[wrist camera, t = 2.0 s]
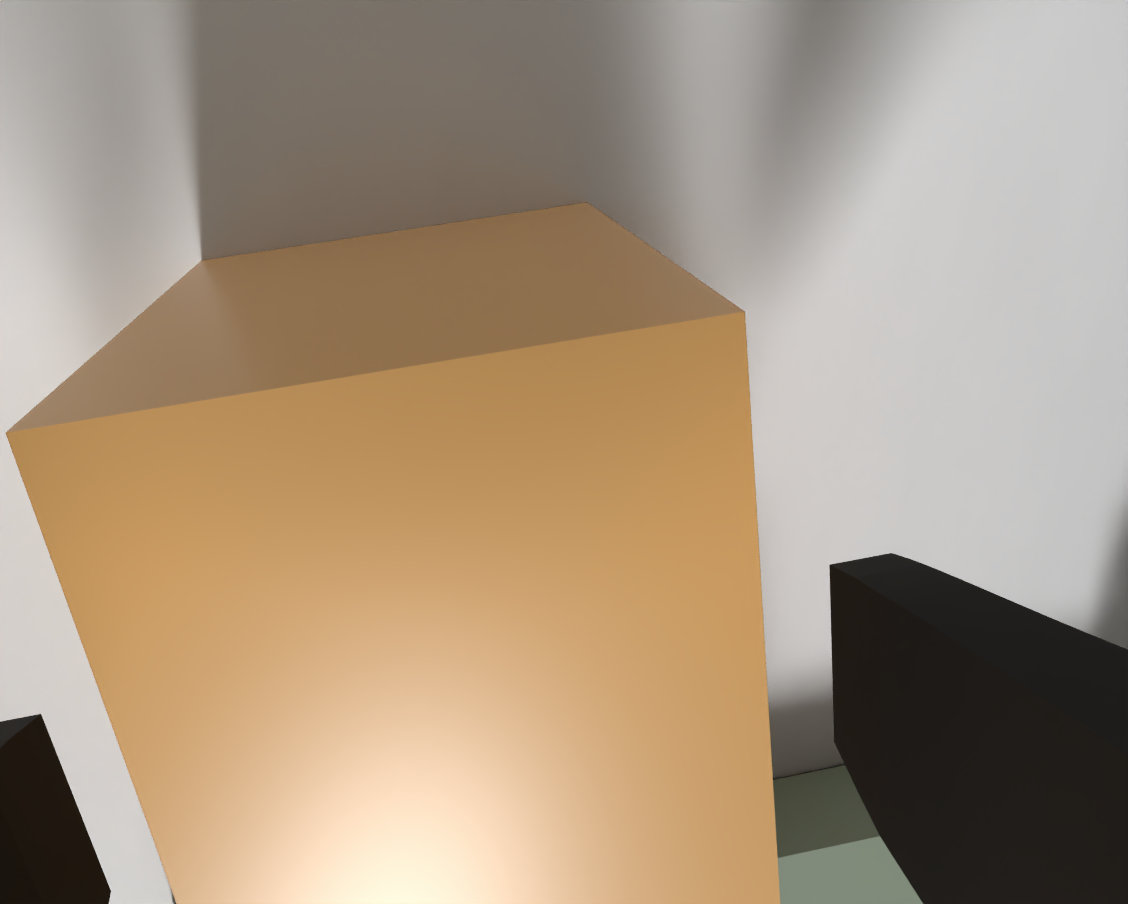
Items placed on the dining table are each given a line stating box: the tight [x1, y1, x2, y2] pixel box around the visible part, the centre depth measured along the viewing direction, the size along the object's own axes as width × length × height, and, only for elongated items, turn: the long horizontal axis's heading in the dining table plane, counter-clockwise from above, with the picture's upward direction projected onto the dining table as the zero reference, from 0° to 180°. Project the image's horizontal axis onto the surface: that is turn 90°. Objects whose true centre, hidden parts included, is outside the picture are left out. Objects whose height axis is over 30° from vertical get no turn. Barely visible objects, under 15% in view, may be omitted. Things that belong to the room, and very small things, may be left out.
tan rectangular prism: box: [6, 202, 780, 904], centre depth 10 cm, size 4×8×6 cm, turn 7°
